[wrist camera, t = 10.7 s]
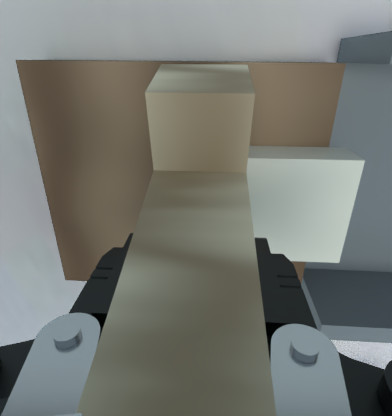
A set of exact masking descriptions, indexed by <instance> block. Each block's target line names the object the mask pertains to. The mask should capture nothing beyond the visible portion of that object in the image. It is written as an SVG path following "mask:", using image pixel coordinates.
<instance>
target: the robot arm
mask: <svg viewBox="0 0 392 416" xmlns="http://www.w3.org/2000/svg"><path fill="white" fill-rule="evenodd" d="M132 236H133V233H130V235H129V236H128V238H127V240H126V242H125V244H124V246H123V247H113V248H112V249H111V250H109V251H108V252H107V253H106V254H104V255H103V256H102V257H101V259H100V261H99V262H98V264H97V266H96V269H94V271H93V273H92V274H91V276H90V279H88V281H87V283H86V285H85V286H84V288H83V290H82V291H81V293H80V295H79V297H78V298H77V300H76V302H75V303H74V305H73V307H72V309H71V310H70V312H69V314H66V315H63V316H60V317H58V318H56V319H54V320H52V321H51V322H49V323H48V324H47V325H45V326H44V327H43V328H42V329H41V330H40V332H39V333H38V334H37V336H36V338H35V339H33V340H29V341H25V342H20V343H16V344H11V345H6V346H1V347H0V416H82V413H76V411H77V408H78V405H79V402H80V399H81V396H82V393H83V389H84V386H85V383H86V380H87V377H88V374H89V371H90V368H91V364H92V361H93V358H94V355H95V352H96V349H97V346H98V343H99V339H100V336H101V333H102V330H103V327H104V324H105V321H106V318H107V314H108V311H109V308H110V305H111V302H112V299H113V296H114V293H115V289H116V286H117V283H118V280H119V277H120V274H121V271H122V268H123V265H124V261H125V258H126V255H127V252H128V249H129V246H130V243H131V240H132ZM254 238H255V246H256V254H257V263H258V271H259V279H260V287H261V295H262V303H263V311H264V319H265V327H266V335H267V343H268V351H269V359H270V367H271V376H272V384H273V392H274V400H275V408H276V416H392V361H390V362H389V363H388V364H387V366H386V368H385V370H384V369H381V368H378V367H375V366H372V365H369V364H366V363H363V362H360V361H356V360H354V359H351V358H349V357H347V356H345V355H343V354H341V353H339V352H338V351H337V349H336V347H335V345H334V344H333V343H332V341H331V340H330V339H329V338H328V337H327V336H326V335H324V334H323V333H322V332H320V331H318V329H317V327H316V324H315V321H314V318H313V316H312V313H311V310H310V308H309V305H308V302H307V299H306V297H305V294H304V291H303V289H302V286H301V283H300V280H299V279H298V275H297V272H296V269H295V267H294V264H293V263H292V262H291V261H290V260H289V259H288V258H287V257H286V256H285V255H284V254H271V252H270V248H269V245H268V241H267V238H257V237H254Z"/></svg>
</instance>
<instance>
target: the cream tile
mask: <svg viewBox="0 0 392 416" xmlns="http://www.w3.org/2000/svg"><path fill="white" fill-rule="evenodd" d="M364 163H365V160H364V159H362V158H361V157H359V156H358V155H356V154H355V153H353V152H352V151H350V150H349V149H348V148H345V147H290V146H249V153H248V162H247V171H246V174H247V182H248V190H249V198H250V206H251V214H252V222H253V230H254V237H257V238H267V241H268V245H269V248H270V252H271V254H284V255H285V256H286V257H287V258H288V259H289V260H290V261H302V262H328V263H339V261H340V257H341V253H342V249H343V246H344V242H345V238H346V234H347V230H348V226H349V222H350V218H351V214H352V210H353V206H354V202H355V198H356V194H357V190H358V186H359V183H360V179H361V175H362V171H363V167H364Z"/></svg>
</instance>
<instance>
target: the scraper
mask: <svg viewBox="0 0 392 416" xmlns="http://www.w3.org/2000/svg"><path fill="white" fill-rule="evenodd" d="M145 97H146V106H147V115H148V124H149V133H150V142H151V151H152V160H153V169H154V171H153V174H152V177H151V180H150V183H149V186H148V190H147V193H146V196H145V199H144V202H143V205H142V208H141V211H140V215H139V218H138V221H137V224H136V227H135V230H134V233H133V236H132V240H131V243H130V246H129V249H128V252H127V255H126V258H125V261H124V265H123V268H122V271H121V274H120V277H119V280H118V283H117V286H116V289H115V293H114V296H113V299H112V302H111V305H110V308H109V311H108V314H107V318H106V321H105V324H104V327H103V330H102V333H101V336H100V339H99V343H98V346H97V349H96V352H95V355H94V358H93V361H92V364H91V368H90V371H89V374H88V377H87V380H86V383H85V386H84V389H83V393H82V396H81V399H80V402H79V405H78V408H77V411H76V413H82V416H276V408H275V400H274V392H273V384H272V376H271V367H270V359H269V351H268V343H267V335H266V327H265V319H264V311H263V303H262V295H261V287H260V279H259V271H258V263H257V254H256V246H255V238H254V230H253V222H252V214H251V206H250V198H249V190H248V182H247V174H246V171H247V162H248V153H249V144H250V135H251V126H252V117H253V108H254V99H255V91H254V87H253V84H252V80H251V76H250V72H249V69H248V65H231V64H161V66H160V67H159V69H158V71H157V72H156V74H155V76H154V78H153V79H152V81H151V83H150V84H149V86H148V88H147V90H146V91H145Z"/></svg>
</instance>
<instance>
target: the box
mask: <svg viewBox="0 0 392 416" xmlns="http://www.w3.org/2000/svg"><path fill="white" fill-rule="evenodd" d="M337 63H346V65H345V70H344V75H343V80H342V85H341V90H340V95H339V100H338V105H337V110H336V115H335V120H334V125H333V130H332V135H331V139H330V144H329V147H345V148H348V149H349V150H350V151H352V152H353V153H355V154H356V155H358V156H359V157H361V158H362V159H364V160H365V163H364V167H363V171H362V175H361V179H360V183H359V186H358V190H357V194H356V198H355V202H354V206H353V210H352V214H351V218H350V222H349V226H348V230H347V234H346V238H345V242H344V246H343V249H342V253H341V257H340V261H339V263H328V262H306V263H305V268H304V273H303V278H302V283H301V286H302V289H303V291H304V294H305V297H306V299H307V302H308V305H309V308H310V310H311V313H312V316H313V318H314V321H315V324H316V327H317V329H318V331H320V332H322V333H323V334H324V335H326V336H327V337H328V338H329V339H330V340H346V341H364V342H382V343H392V31H389V32H382V33H376V34H370V35H363V36H357V37H351V38H344V39H341V44H340V49H339V54H338V59H337Z"/></svg>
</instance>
